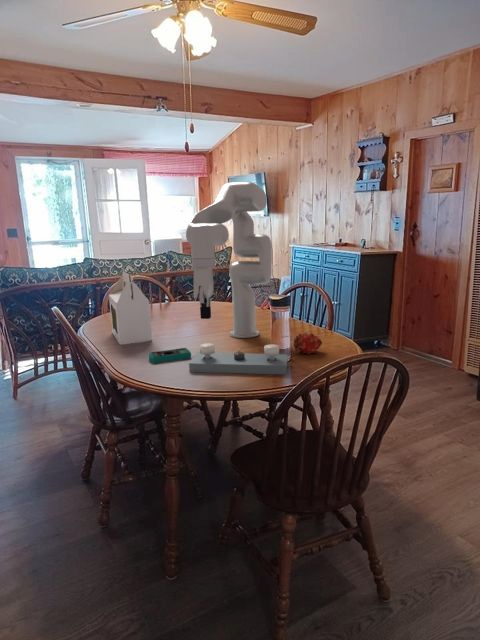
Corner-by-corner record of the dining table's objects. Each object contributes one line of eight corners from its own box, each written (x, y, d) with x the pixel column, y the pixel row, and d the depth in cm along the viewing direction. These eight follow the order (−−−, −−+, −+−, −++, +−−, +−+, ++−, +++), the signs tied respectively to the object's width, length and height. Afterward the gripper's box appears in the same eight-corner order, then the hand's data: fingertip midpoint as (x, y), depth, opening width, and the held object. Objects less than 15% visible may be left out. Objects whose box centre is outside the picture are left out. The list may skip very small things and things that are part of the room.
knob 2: (265, 359, 155) (264, 344, 154) (279, 360, 154) (279, 344, 153) (263, 364, 150) (263, 348, 149) (278, 364, 149) (278, 348, 148)
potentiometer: (234, 356, 156) (234, 347, 155) (245, 357, 155) (245, 347, 154) (233, 360, 152) (233, 350, 151) (243, 360, 152) (243, 350, 151)
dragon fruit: (290, 358, 167) (318, 359, 171) (300, 350, 160) (330, 351, 164) (286, 337, 170) (314, 338, 175) (296, 328, 163) (325, 329, 167)
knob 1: (202, 358, 158) (201, 343, 157) (216, 358, 157) (215, 343, 156) (198, 362, 153) (198, 347, 152) (213, 363, 153) (212, 347, 151)
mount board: (197, 360, 162) (197, 352, 162) (287, 362, 158) (287, 354, 157) (189, 371, 151) (189, 363, 150) (285, 374, 146) (285, 365, 145)
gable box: (152, 341, 189) (147, 274, 183) (120, 345, 184) (113, 277, 178) (141, 329, 209) (136, 268, 203) (112, 333, 204) (106, 271, 198)
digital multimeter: (147, 359, 167) (147, 351, 166) (187, 354, 172) (186, 346, 171) (151, 365, 160) (150, 357, 159) (192, 359, 165) (191, 351, 164)
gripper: (197, 261, 155) (200, 313, 160) (186, 266, 141) (189, 323, 145) (219, 260, 154) (221, 313, 159) (210, 265, 140) (212, 323, 144)
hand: (205, 318), depth 152 cm, fingers closed
